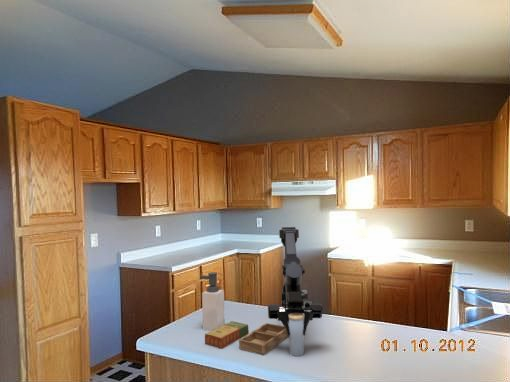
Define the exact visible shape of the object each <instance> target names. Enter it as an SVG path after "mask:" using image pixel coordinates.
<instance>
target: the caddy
mask: <svg viewBox="0 0 510 382" xmlns="http://www.w3.org/2000/svg"><path fill="white" fill-rule="evenodd" d="M288 337H289V336H288V334H287V332H286V329H285V327H284V325H280V324H279V325H278V324H274V323H269V322H265V323H264V324H262V325H260V326H259V327H257V328H256V329H254V330H253V331H251V332H250V333H249V334H248V335H246V336H244V337H243V338H241V339H239V340H238V349H239V350H241V351H242V350H243V351H246V352H250V353H255V354H258V355H262V356H265V355H266V354H268V353H269V352H271V350H272V349H274V348H275V347H277V345H279V344H280V343H281V342H283V341H284V340H286V339H287V338H288Z"/></svg>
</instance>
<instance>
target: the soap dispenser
mask: <svg viewBox="0 0 510 382" xmlns="http://www.w3.org/2000/svg"><path fill="white" fill-rule="evenodd" d="M217 274H218V272H216V271H210V272H208V274H207V275H205V274H201V275H199V279H200V280H208V286H207V287H206V290H205V291H203V292H202V293H201V301H202V330H209V331H212V330H214V329H216V328H219V327H221V326H223V325H225V324H226V322H225V320H226V319H225V315H226V314H225V290H224V289H220V286H219V285H218V284H217V283H218V282H217V281H218V278H217V277H218V275H217Z"/></svg>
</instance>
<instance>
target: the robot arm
mask: <svg viewBox="0 0 510 382" xmlns="http://www.w3.org/2000/svg"><path fill="white" fill-rule="evenodd" d="M299 231H300V230H299V229H298V228H296V226H290V227H289V226H285V227H283V226H282V227H281V229H279V231H278V237H279V239H280V242H281V244H282V246H283V248H284V259H283V265H282V266H281V272H282V276H283V277H284V278H285V282H284V284H283V287H282V291H280V300H281V302H280V303H281V307H280V304H279V303H278V304H277V303H270V304H269V305H268V306H267V311H268V312H267V313H268V314H267V318H268V319H270V320H271V319H272V320H275V319H277V321H279V322H281V323H282V326H284V327H285V329H286V332H287V334H288V337H289V317H288V315H289V314H290V313H301V314H303V333H304V336H306V334H307V333H306V332H307V329H308V326H309V323H310V321H313V319H321V318H323V317H322V316H323V312H324V308H323V305H322V304H321V303H310V306H309V307H304V301H308V299H309V293H308V289H302V277H303V276H304V274H305V271H306V270H305V268H304V267H303V264H302V265H301V259H300V258H299V257H298V256H297V247H296V245H297V244H296V243H297V241H298V239H299V238H300V234H299Z"/></svg>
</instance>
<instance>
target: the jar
mask: <svg viewBox="0 0 510 382" xmlns="http://www.w3.org/2000/svg"><path fill="white" fill-rule="evenodd" d="M288 317H289V321H288V326H289V336H288V337H289V338H288V339H289V340H288V342H289V343H288V344H289V354H290V356H292V357H301V356H303V355H304V354H305V342H304V341H305V340H304V339H305V338H304V333H303V329H304V314H301V313H290V314H289V315H288Z"/></svg>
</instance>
